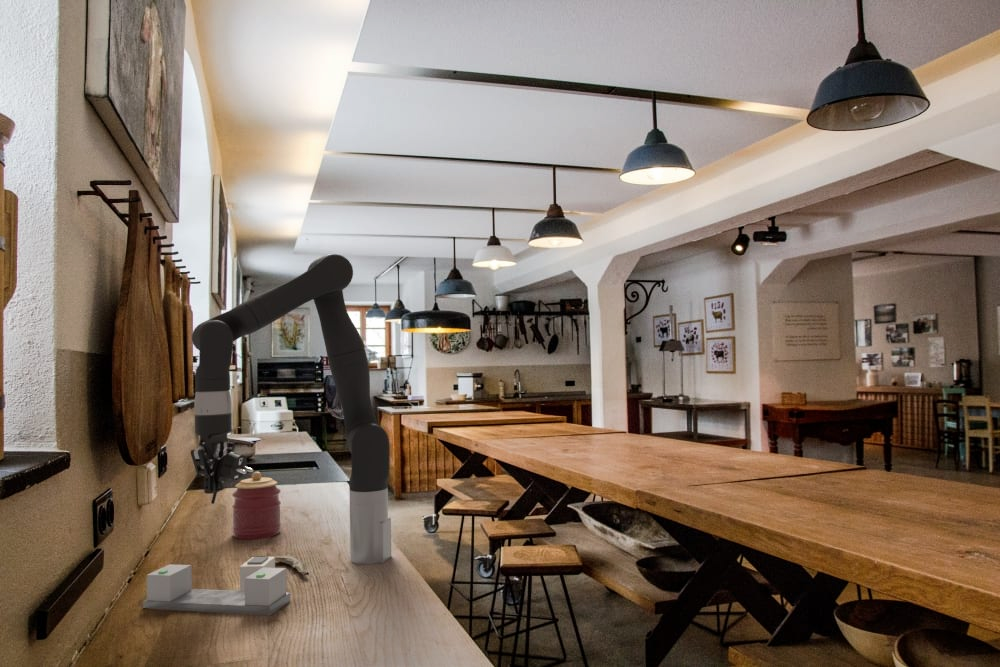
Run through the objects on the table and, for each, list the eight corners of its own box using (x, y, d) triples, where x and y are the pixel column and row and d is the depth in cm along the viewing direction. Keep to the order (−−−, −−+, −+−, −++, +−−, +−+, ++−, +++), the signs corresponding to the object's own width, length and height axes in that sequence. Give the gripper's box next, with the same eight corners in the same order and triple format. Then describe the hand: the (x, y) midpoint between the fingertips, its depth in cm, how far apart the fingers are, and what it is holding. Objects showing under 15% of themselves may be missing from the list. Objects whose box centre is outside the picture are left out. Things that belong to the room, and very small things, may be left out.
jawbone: (280, 559, 172) (281, 550, 172) (337, 573, 161) (337, 563, 161) (249, 563, 165) (250, 554, 165) (306, 578, 153) (306, 568, 154)
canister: (222, 539, 192) (222, 475, 193) (250, 527, 205) (249, 467, 205) (264, 541, 189) (263, 475, 190) (289, 529, 202) (289, 468, 202)
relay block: (275, 584, 152) (275, 554, 152) (263, 595, 145) (263, 564, 145) (252, 584, 152) (252, 555, 152) (240, 595, 145) (239, 564, 145)
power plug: (217, 499, 154) (230, 447, 154) (246, 510, 152) (260, 457, 152) (201, 504, 149) (214, 450, 148) (230, 515, 147) (244, 460, 147)
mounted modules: (286, 593, 140) (286, 566, 140) (269, 605, 133) (268, 577, 133) (169, 588, 144) (169, 562, 144) (146, 600, 137) (146, 572, 137)
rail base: (290, 602, 140) (289, 592, 140) (270, 617, 132) (270, 606, 132) (169, 597, 145) (168, 587, 145) (142, 611, 137) (142, 601, 137)
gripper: (210, 414, 144) (211, 498, 144) (246, 409, 158) (247, 485, 157) (177, 415, 145) (178, 498, 145) (215, 409, 159) (217, 485, 159)
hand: (214, 491), depth 151 cm, fingers closed on power plug, 2 cm apart
